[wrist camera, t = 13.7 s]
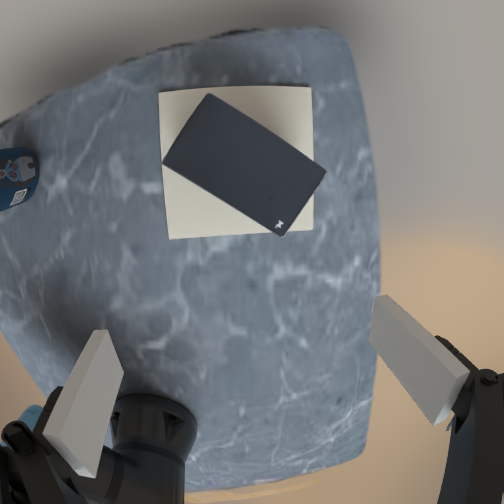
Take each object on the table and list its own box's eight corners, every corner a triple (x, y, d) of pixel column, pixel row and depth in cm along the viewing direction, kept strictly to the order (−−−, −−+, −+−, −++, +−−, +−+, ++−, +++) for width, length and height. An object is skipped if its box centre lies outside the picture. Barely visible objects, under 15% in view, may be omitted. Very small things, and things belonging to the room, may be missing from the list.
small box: (297, 163, 30) (333, 171, 20) (262, 213, 31) (283, 243, 21) (212, 108, 27) (209, 87, 17) (178, 161, 28) (157, 166, 19)
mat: (170, 237, 32) (169, 239, 31) (159, 93, 26) (158, 92, 26) (311, 228, 33) (312, 229, 33) (309, 88, 28) (311, 87, 27)
